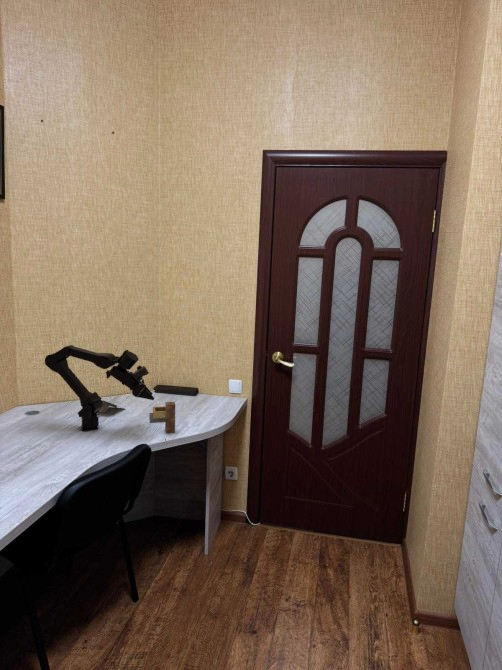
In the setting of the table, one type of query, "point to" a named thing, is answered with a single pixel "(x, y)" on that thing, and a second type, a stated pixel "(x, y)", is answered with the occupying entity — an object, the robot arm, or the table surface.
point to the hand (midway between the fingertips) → (152, 396)
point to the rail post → (170, 417)
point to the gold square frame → (157, 414)
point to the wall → (106, 405)
